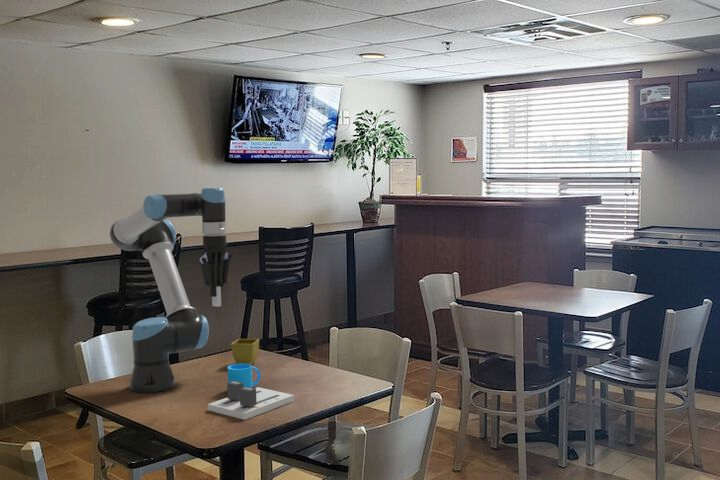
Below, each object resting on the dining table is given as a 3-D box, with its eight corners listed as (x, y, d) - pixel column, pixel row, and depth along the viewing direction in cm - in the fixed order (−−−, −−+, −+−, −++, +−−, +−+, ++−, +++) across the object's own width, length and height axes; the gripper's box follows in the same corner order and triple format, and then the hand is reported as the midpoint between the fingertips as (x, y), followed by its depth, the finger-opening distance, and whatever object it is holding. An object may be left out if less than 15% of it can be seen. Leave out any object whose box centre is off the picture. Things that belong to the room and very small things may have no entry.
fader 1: (227, 398, 234) (227, 382, 233) (234, 396, 236) (234, 380, 236) (236, 400, 231) (236, 384, 231) (243, 398, 234) (243, 382, 233)
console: (208, 410, 230) (207, 403, 230) (258, 393, 248) (258, 386, 247) (244, 419, 220) (244, 412, 220) (294, 401, 238) (294, 394, 238)
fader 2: (240, 405, 227) (239, 388, 227) (247, 402, 229) (246, 386, 229) (249, 407, 225) (249, 390, 224) (256, 404, 227) (256, 388, 227)
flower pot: (231, 366, 282) (230, 343, 282) (238, 361, 291) (238, 338, 290) (253, 367, 281) (252, 344, 280) (260, 361, 290) (259, 338, 289)
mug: (235, 395, 246) (234, 371, 245) (223, 390, 252) (223, 366, 251) (266, 388, 253) (266, 364, 252) (254, 383, 259) (254, 360, 259)
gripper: (207, 236, 236) (209, 310, 239) (236, 233, 247) (239, 304, 249) (191, 235, 241) (193, 307, 243) (221, 233, 251) (223, 302, 253)
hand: (216, 305), depth 246 cm, fingers closed
